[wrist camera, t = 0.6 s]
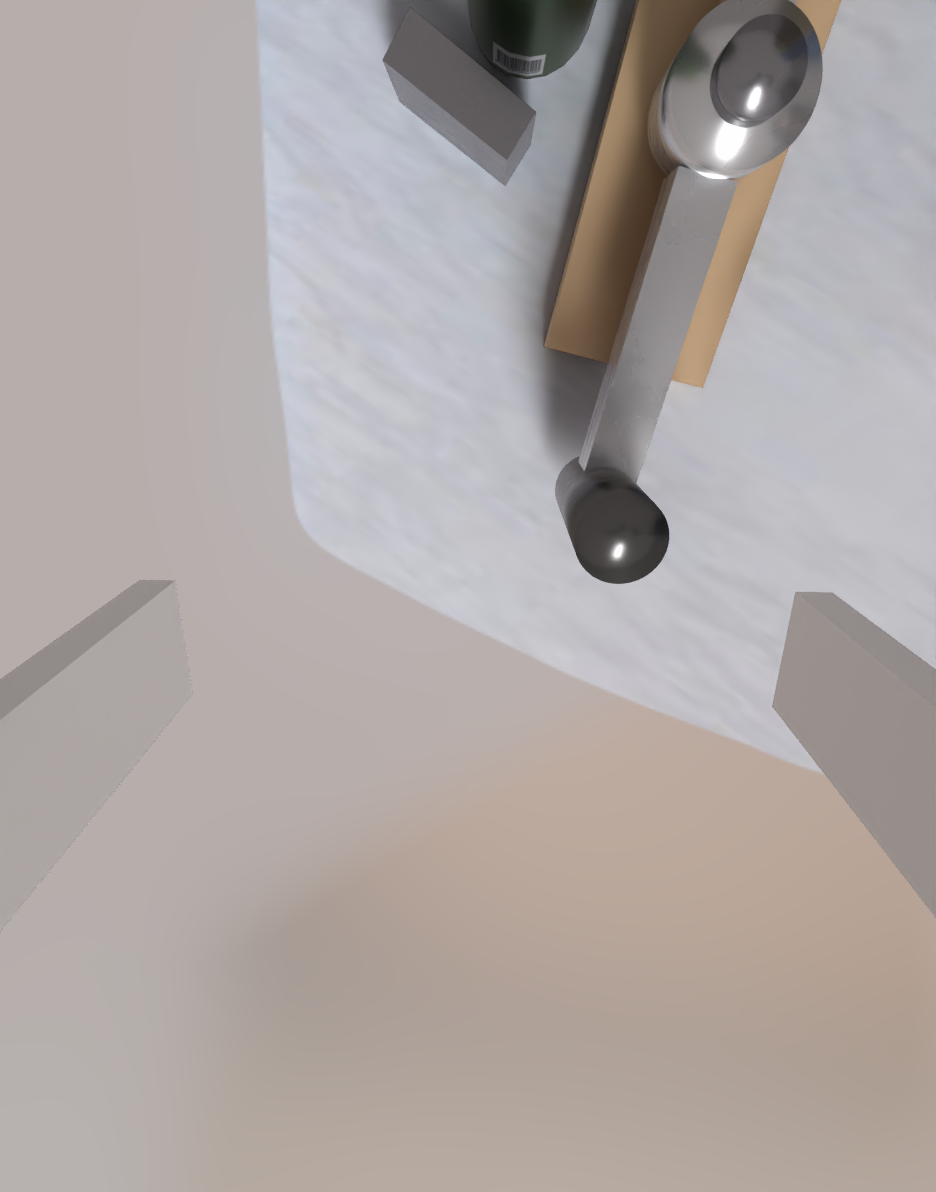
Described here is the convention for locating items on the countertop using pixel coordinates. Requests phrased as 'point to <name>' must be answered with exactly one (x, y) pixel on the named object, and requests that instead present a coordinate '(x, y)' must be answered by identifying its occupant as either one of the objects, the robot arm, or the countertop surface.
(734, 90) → the pivot and anvil
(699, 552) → the countertop surface
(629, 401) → the lever
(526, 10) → the green drink can
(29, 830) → the robot arm
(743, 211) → the press bench
